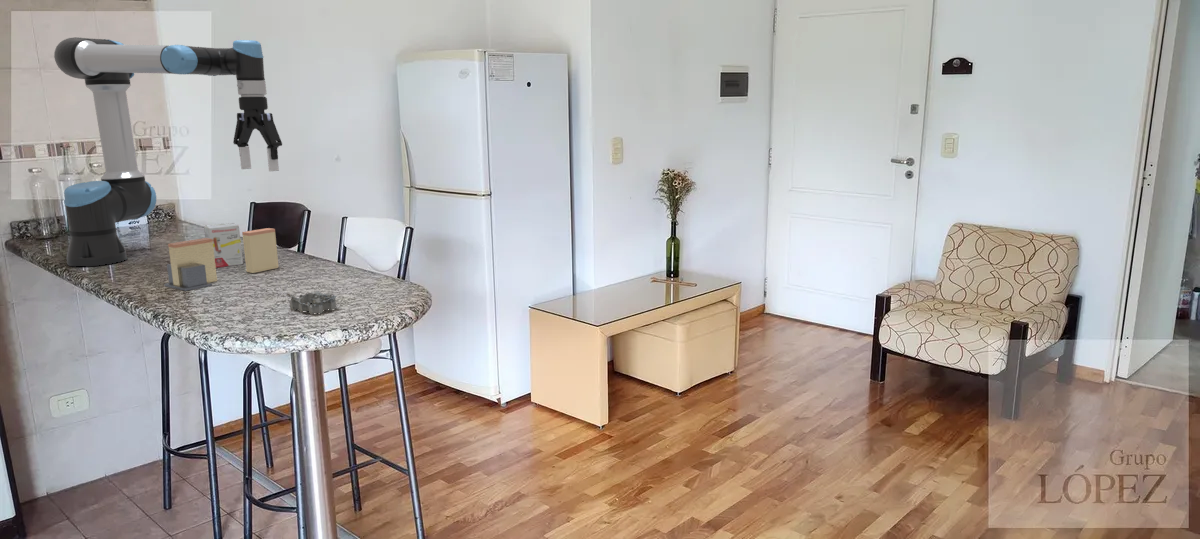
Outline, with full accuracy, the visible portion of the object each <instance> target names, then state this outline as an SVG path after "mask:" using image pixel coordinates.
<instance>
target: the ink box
mask: <svg viewBox="0 0 1200 539" xmlns="http://www.w3.org/2000/svg"><path fill="white" fill-rule="evenodd" d="M203 230H204V238H210V239H213V248H214V257H215V265H216V269H218V268H224V267H232V266H238V265H239V266H240V265H243V264H244V262H243V261H244V260H243V253H242V252H243V250H242V243H241V242H242V240H241V233H240V225H239V224H237V223H235V222H228V223H227V222H225V223H217V224H216V223H215V224H207V225H205V226H203Z"/></svg>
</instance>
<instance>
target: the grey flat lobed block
mask: <svg viewBox="0 0 1200 539" xmlns="http://www.w3.org/2000/svg"><path fill="white" fill-rule="evenodd" d="M286 296H288V297H291V298H290V301H289V308H290V310H291V311H293V310H294V311H297V310H296V309H299V310H298V311H302V312H303V311H309V312H308V314H309V313H310V314H314V313H322V312H323V310H328V309H329V310H332V309H335V310H336V308H337V302H336V301H337V300H336V298H337V297H338V294H337V295H335V294H334V295H332V294H330V293H325V292H324V293H322V292H320V291H318V290H316V291H312V292H307V293H305V294H303V295H302V294H299V297H296V296H295V294H290V293H288V292H287V293H286ZM310 303H312V304H310ZM335 307H336V308H335ZM302 312H301V313H302ZM323 313H324V312H323ZM310 314H309V315H310ZM314 315H315V314H314Z"/></svg>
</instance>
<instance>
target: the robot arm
mask: <svg viewBox="0 0 1200 539" xmlns="http://www.w3.org/2000/svg"><path fill="white" fill-rule="evenodd" d="M261 44H262V43H260V41H258V40H250V39H249V40H248V39H238V40H234V41H233V42H232V47H229V48H227V47H226V48H225V47H222V48H221V47H218V48H217V47H205V46H204V47H202V46H191V45H190V46H189V45H185V44H184V45H183V44H171V45H165V44H164V45H163V44H161V45H159V44H157V45H155V44H153V45H152V44H145V45H144V44H124V43H122V42H120V41H116V40H111V39H106V38H105V39H103V38H90V37H89V38H87V37H86V38H85V37H68V38H65V39H63V40H61V41H60V42H59V43H58V44H57V45H56V46H55V50H54V53H53V54H54V55H53V58H54V62H55V64H56V66H57V67H58V69H59V70H61V72H63V73H64V74H65V75H67V76H69V77H72V78H75V79H78V80H84V84H85V86H86V88H88V89H89V90H90V91H91V92H92V95H93V96H92V97H93V101H94V107H95V113H96V114H95V115H96V120H97V126H98V132H99V140H100V145H101V150H102V157H103V164H104V169H105V173H104V174H102V176H101V177H100V180H91V181H87V182H78V183H75V184H72V185H71V184H70V185H69V186H68V187H66V188H65V189H64V192H63V195H64V201H63V203H64V207H65V211H66V213H65V214H66V217H67V225H68V231H69V235H70V236H69V237H70V240H69V245H68V249H67V253H66V263H67V266H70V267H76V266H86V267H97V266H99V265H100V266H106V265H105V264H107V265H112V263H113V264H117V263H116V262H118V263H122V262H124V260H125V261H126V260H127V259H128V255H127V250H126V249H125V247H124V245H123V243H122V242H121V239H120V237H119V236H118V233H117V226H116V225H117V224H116V223H120V222H125V221H130V220H138V219H141V218H144V217H147V216H148V215H149V214H151V213H152V212H153V211H154V209H155V207H156V205H157V193H156V190H155V188H154V187H153V186H152V184H151V183H150V182H148V181H146V177H145V174H143V173H142V172H141V171H140V170H139V168H138V163H137V154H136V149H135V143H134V142H135V141H134V136H133V130H132V122H131V117H130V116H131V115H130V110H129V102H128V96H127V91H128V90H129V88H130V87H131V86H132V84H131V79H132V78H133V77H134V76H135V74H164V75H165V74H167V75H169V74H173V75H201V76H209V77H211V76H212V77H216V76H235V78H236V83H237V84H236V87H237V93H238V96H239V95H240V96H239V98H238V105H239V109H240V110H241V111H243V112H237V113H236V125H235V130H234V135H233V136H234V137H233V145H236V146H237V147H238V150H239V158H240V166H241V170H250V169H252V164H251V154H250V145H249V141H250V139H251V136H252V134H253V131H254V130H257V131H258V132H259V133H260V135H261V137H262V138H263V140H264V142H265V143H266V154H267V165H268V172H277V171H280V168H279V167H280V166H279V153H278V151H279V150H278V149H279V147H282V146H283V142H282V139H281V136H280V135H279V132H278V130H277V126H276V125H275V121H274V116H273V114H272V113H271V112H268V113H267V112H265V111H266V110H269V106H268V105H269V104H268V98H267V96H266V95H267V86H266V79H265V68H264V55H263V49H262V48H263V47H262V45H261ZM121 261H122V262H121Z"/></svg>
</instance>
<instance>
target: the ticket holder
mask: <svg viewBox="0 0 1200 539" xmlns="http://www.w3.org/2000/svg"><path fill="white" fill-rule="evenodd" d="M167 247H168V252H169V260H170V263H167V264H166V269H167V278H168V282H166V283H164V284H163V285H164V287H166V288H172V289H175V290H180V291H184V292H187V291H191V290H192V291H193V290H198V289H202V288H207V287H212V286H213V283H214V282H218V276H217V268H216V265H215V257H214V248H213V239H210V238H205V237H202V238H196V239H191V240H183V241H177V242H172V243H171V242H170V243H167Z"/></svg>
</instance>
